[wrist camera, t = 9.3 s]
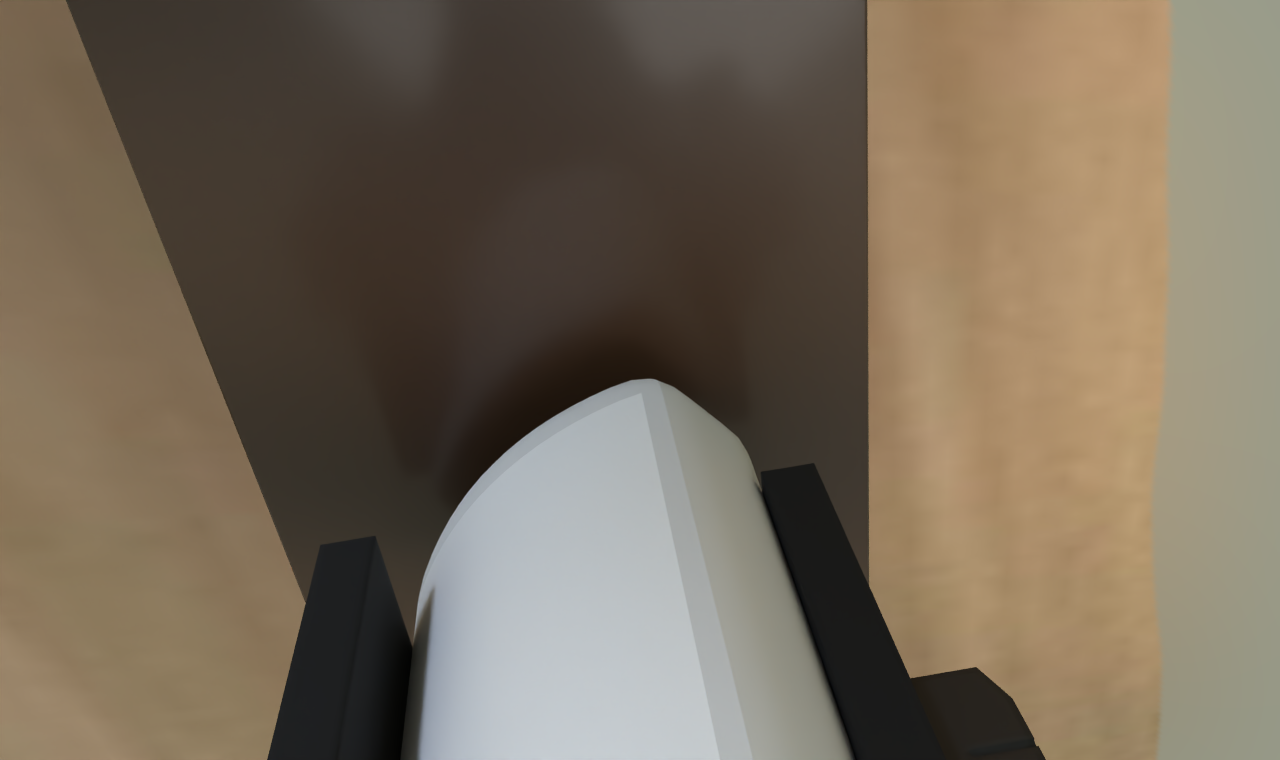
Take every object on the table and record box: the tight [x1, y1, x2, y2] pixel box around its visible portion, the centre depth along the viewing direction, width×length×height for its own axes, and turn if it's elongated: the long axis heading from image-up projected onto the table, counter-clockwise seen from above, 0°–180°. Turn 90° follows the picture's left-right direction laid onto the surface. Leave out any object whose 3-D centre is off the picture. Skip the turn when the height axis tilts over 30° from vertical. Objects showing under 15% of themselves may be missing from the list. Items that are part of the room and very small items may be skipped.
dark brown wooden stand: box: [66, 0, 869, 647], centre depth 21 cm, size 18×10×10 cm, turn 7°
